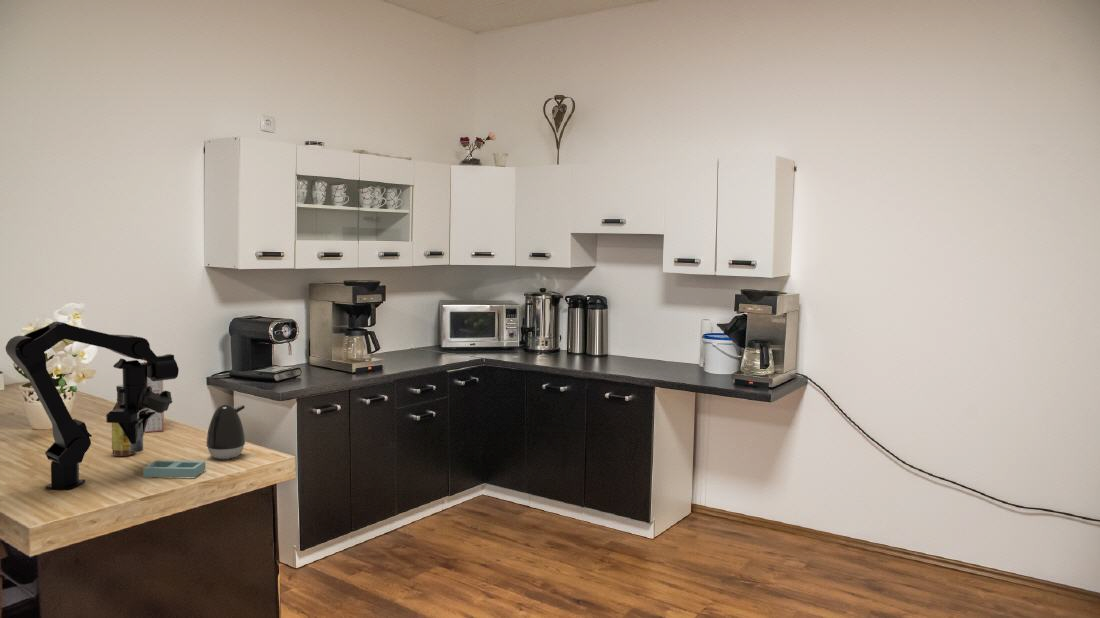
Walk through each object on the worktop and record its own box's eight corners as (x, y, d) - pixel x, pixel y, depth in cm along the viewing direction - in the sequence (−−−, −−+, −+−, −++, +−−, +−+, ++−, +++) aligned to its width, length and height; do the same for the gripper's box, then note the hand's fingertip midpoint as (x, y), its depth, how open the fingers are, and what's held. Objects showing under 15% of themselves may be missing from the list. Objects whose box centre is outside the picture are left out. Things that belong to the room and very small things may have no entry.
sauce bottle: (126, 458, 221) (124, 388, 220) (106, 456, 223) (105, 386, 221) (142, 452, 228) (141, 384, 226) (123, 450, 229) (122, 382, 227)
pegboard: (194, 478, 205) (194, 468, 204) (143, 477, 204) (143, 468, 204) (205, 470, 212) (205, 461, 211) (156, 469, 211) (156, 460, 211)
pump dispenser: (251, 458, 225) (251, 405, 223) (213, 464, 218) (213, 409, 217) (238, 450, 232) (238, 399, 231) (201, 455, 226) (200, 403, 224)
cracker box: (144, 423, 262) (143, 360, 260) (164, 422, 265) (163, 360, 263) (142, 433, 249) (141, 367, 248) (163, 431, 252) (162, 366, 250)
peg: (139, 452, 208) (139, 422, 207) (128, 451, 208) (127, 421, 207) (145, 449, 211) (144, 419, 210) (133, 448, 211) (133, 419, 210)
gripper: (149, 391, 199) (150, 451, 200) (181, 378, 217) (182, 433, 219) (104, 390, 198) (105, 451, 200) (140, 377, 217) (141, 433, 218)
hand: (136, 442), depth 209 cm, fingers closed on peg, 3 cm apart
